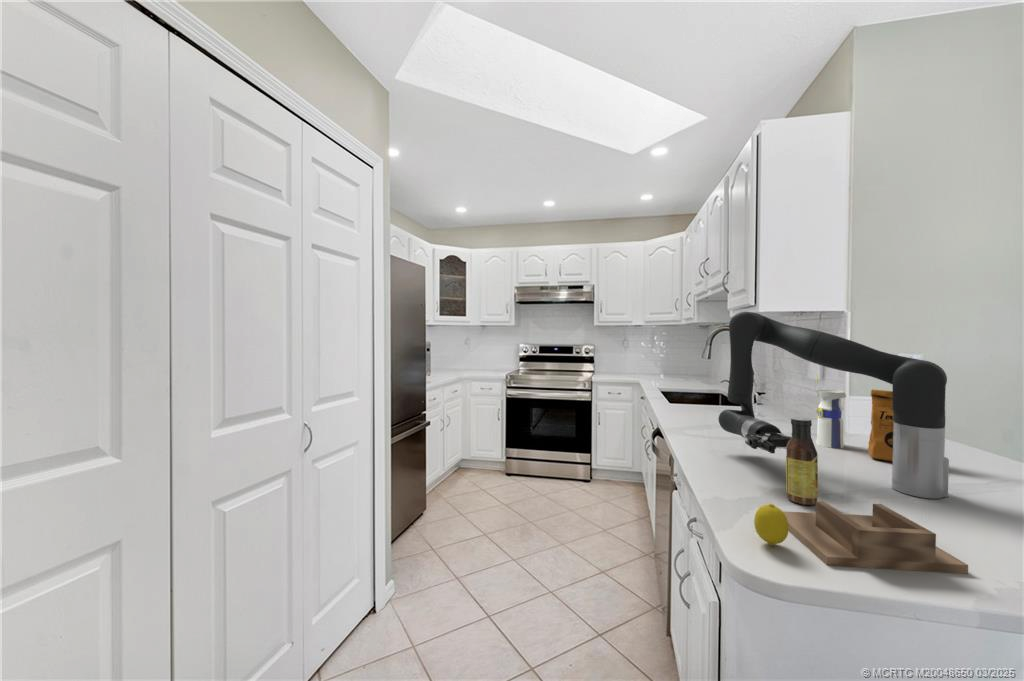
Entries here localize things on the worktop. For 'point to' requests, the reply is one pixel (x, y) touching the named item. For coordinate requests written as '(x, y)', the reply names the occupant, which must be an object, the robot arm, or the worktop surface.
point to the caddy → (870, 540)
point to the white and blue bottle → (830, 418)
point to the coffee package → (881, 426)
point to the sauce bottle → (801, 464)
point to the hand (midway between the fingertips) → (791, 450)
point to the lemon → (771, 524)
